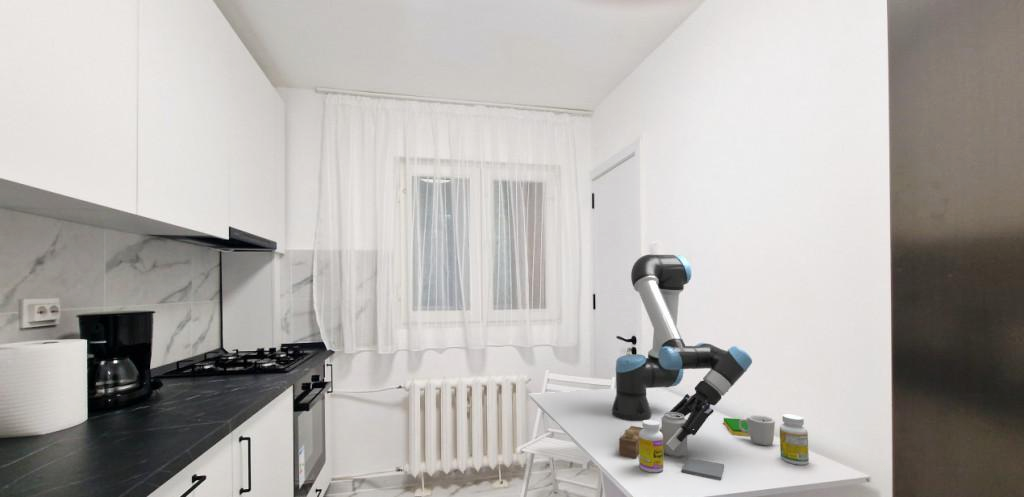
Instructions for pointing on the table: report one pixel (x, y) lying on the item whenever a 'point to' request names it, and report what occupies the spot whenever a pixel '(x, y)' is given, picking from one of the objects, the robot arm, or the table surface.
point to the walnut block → (630, 442)
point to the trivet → (703, 468)
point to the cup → (759, 429)
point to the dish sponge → (735, 426)
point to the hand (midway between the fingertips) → (663, 442)
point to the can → (669, 428)
